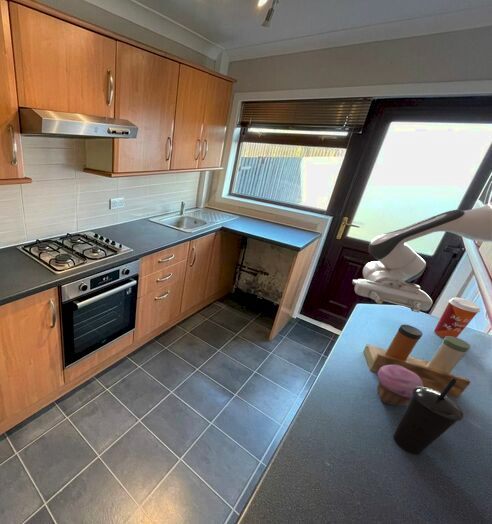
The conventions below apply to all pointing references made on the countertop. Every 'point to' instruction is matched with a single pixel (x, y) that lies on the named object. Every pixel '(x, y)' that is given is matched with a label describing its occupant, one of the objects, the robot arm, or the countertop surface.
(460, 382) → the spice rack
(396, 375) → the cupcake
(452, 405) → the drinking cup
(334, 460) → the countertop surface
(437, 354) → the sage jar
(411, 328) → the amber jar
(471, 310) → the paper cup
